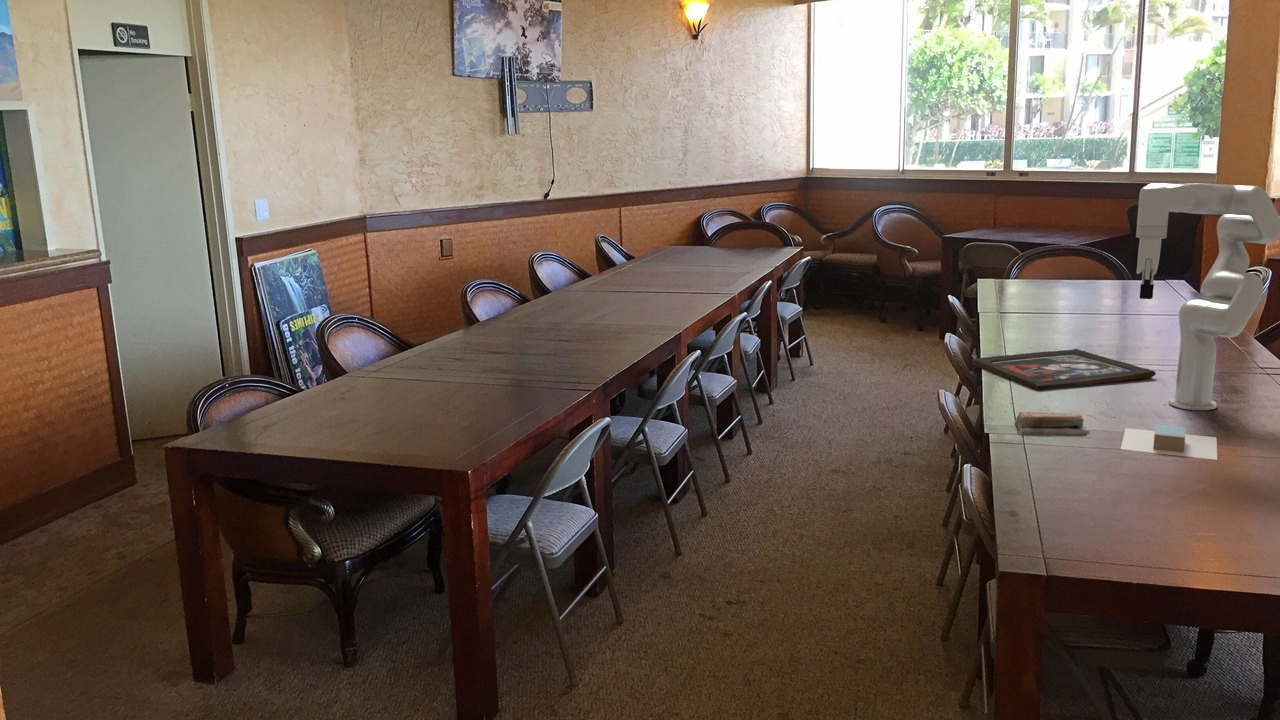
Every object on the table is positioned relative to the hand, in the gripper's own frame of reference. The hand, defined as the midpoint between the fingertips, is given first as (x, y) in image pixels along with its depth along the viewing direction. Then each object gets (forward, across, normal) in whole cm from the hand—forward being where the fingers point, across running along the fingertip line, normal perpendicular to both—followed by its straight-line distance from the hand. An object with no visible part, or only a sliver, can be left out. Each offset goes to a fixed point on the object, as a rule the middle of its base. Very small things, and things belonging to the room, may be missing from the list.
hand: (1146, 298), depth 285 cm
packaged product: (+36, +18, -20) cm, 45 cm away
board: (+35, +21, +9) cm, 42 cm away
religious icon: (+36, -52, -26) cm, 68 cm away
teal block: (+33, +18, +9) cm, 38 cm away
